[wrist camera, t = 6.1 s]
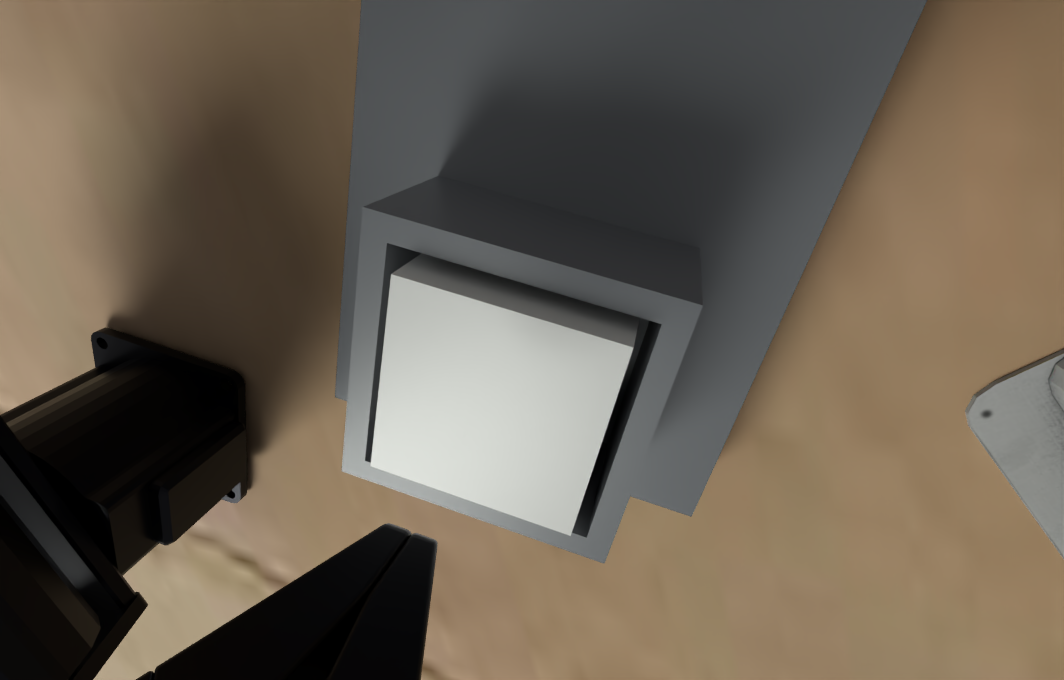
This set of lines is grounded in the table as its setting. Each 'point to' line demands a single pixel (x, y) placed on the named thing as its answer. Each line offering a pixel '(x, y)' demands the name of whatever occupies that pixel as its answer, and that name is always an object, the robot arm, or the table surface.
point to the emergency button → (1028, 437)
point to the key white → (497, 389)
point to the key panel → (609, 196)
